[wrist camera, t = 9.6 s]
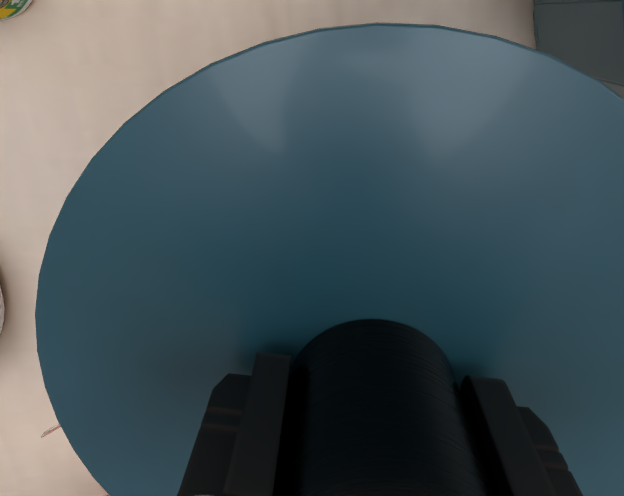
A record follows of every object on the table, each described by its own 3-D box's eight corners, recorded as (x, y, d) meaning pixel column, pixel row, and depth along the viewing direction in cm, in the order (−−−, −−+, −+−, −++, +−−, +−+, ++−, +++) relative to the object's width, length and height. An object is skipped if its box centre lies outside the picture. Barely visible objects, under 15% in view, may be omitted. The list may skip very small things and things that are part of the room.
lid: (21, -23, 9) (-450, -77, 4) (833, 70, 9) (1570, 151, 4) (84, 534, 15) (-61, 831, 10) (578, 590, 15) (716, 919, 10)
